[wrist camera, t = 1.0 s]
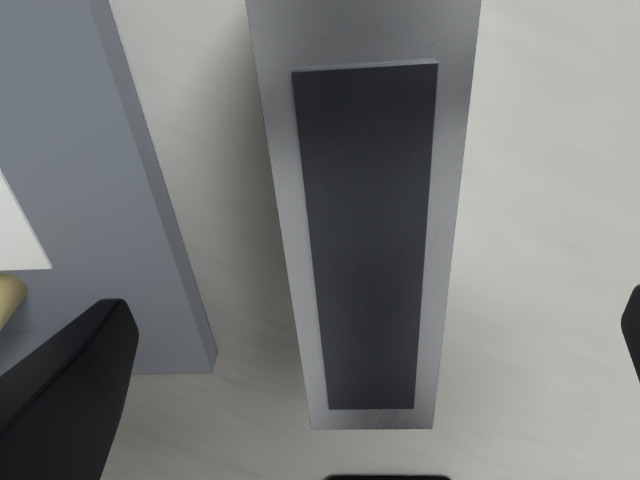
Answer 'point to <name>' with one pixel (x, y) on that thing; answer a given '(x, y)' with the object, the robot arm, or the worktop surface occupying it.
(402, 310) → the drive
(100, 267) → the drive dock
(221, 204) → the worktop surface
